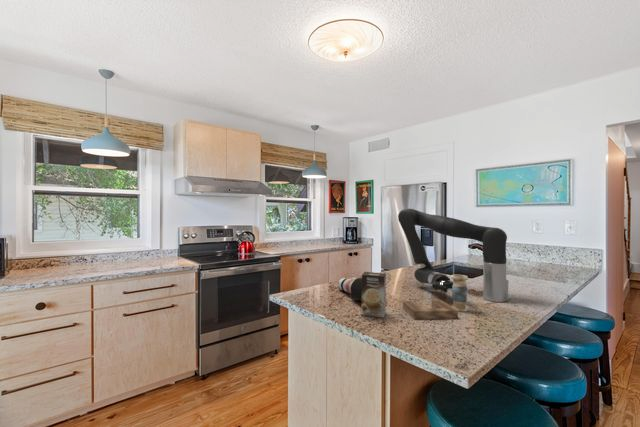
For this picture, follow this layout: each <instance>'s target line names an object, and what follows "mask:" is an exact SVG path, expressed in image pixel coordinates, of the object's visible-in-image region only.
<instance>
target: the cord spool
mask: <svg viewBox="0 0 640 427" xmlns="http://www.w3.org/2000/svg"><path fill="white" fill-rule="evenodd" d="M450 278H451V279H452V280H453V285H452V289H451V291H452V292H451V293H452V295H451V297H452V299H451V300H452V301H453V304H452V305H451V306H452V307H453V308H455V309H456V310H458V313H459V312H460V313H466V312H468V310H469V308H468V307H467V306H466V302H467V298H468V297H467V295H468V294H467V293H468V287H467V286H468V285H467V284H466V283H467V282H466V281H468V278H469V277H468V275H465V274H451V276H450Z"/></svg>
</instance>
